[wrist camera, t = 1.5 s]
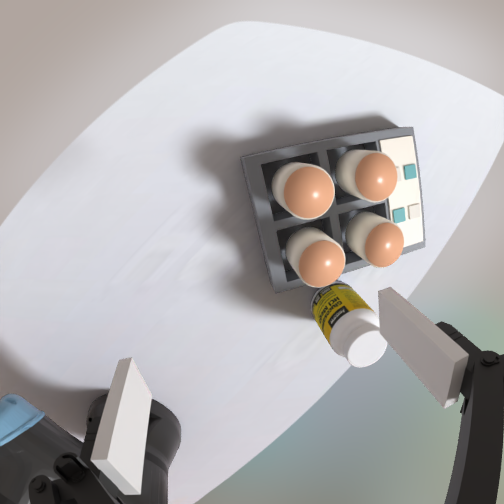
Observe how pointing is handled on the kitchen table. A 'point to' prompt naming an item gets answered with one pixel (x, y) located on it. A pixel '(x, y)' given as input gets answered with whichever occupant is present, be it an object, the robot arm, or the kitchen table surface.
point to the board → (393, 208)
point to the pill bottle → (348, 324)
